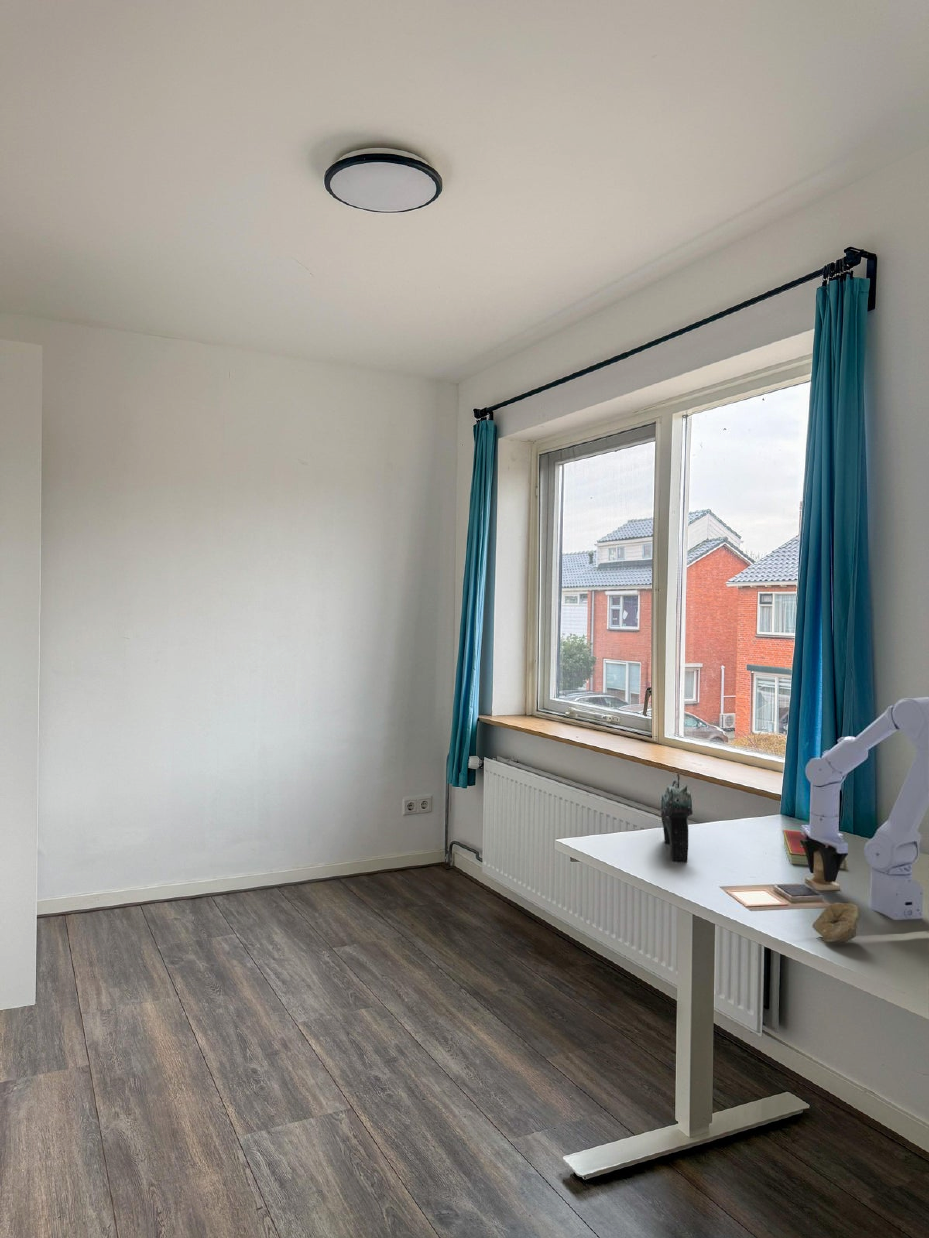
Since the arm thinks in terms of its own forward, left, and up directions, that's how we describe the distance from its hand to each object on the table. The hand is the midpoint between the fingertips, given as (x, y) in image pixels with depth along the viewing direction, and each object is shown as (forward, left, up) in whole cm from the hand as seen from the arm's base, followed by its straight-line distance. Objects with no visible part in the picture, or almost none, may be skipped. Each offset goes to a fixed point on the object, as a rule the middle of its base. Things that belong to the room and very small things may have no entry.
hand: (822, 876), depth 184 cm
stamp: (0, 0, -3) cm, 3 cm away
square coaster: (-6, +18, -2) cm, 19 cm away
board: (-5, +14, -3) cm, 15 cm away
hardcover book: (+22, -11, -4) cm, 25 cm away
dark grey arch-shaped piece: (+30, +21, -3) cm, 37 cm away
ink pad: (-5, +8, -2) cm, 10 cm away
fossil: (-25, +12, -3) cm, 28 cm away
